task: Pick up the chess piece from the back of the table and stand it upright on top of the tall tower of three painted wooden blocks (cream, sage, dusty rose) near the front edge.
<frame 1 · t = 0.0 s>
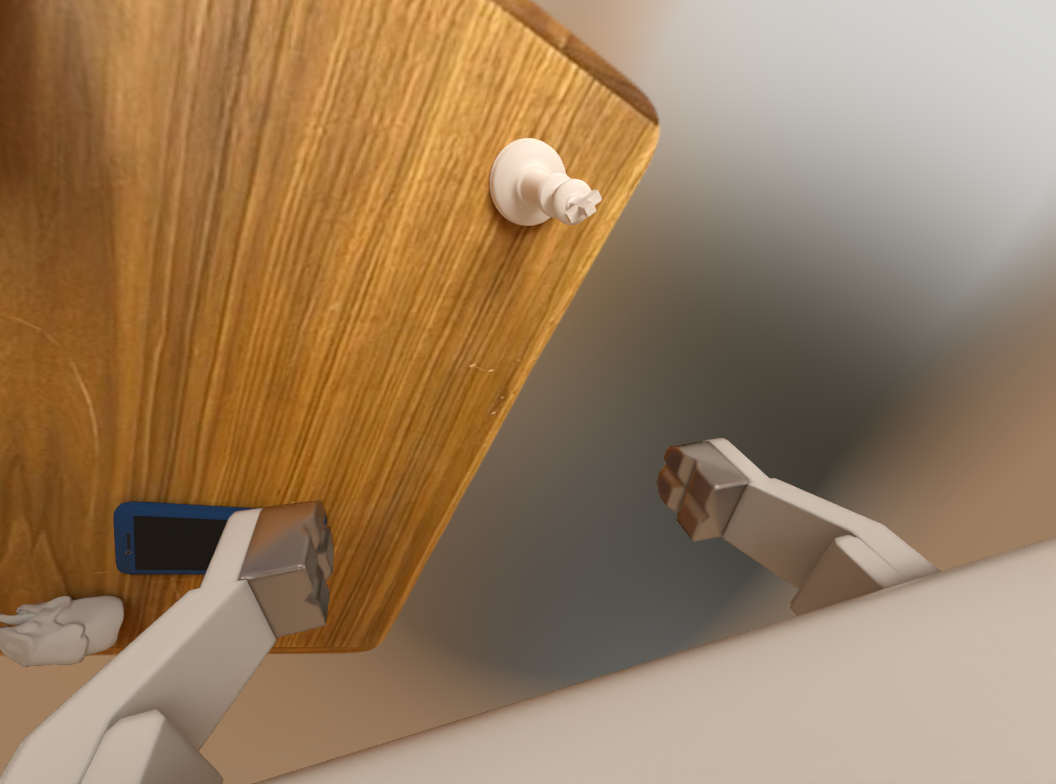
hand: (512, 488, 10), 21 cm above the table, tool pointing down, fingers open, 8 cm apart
cell phone: (230, 536, 34), on the table
figurine: (75, 595, 33), on the table
chess piece: (526, 183, 26), on the table
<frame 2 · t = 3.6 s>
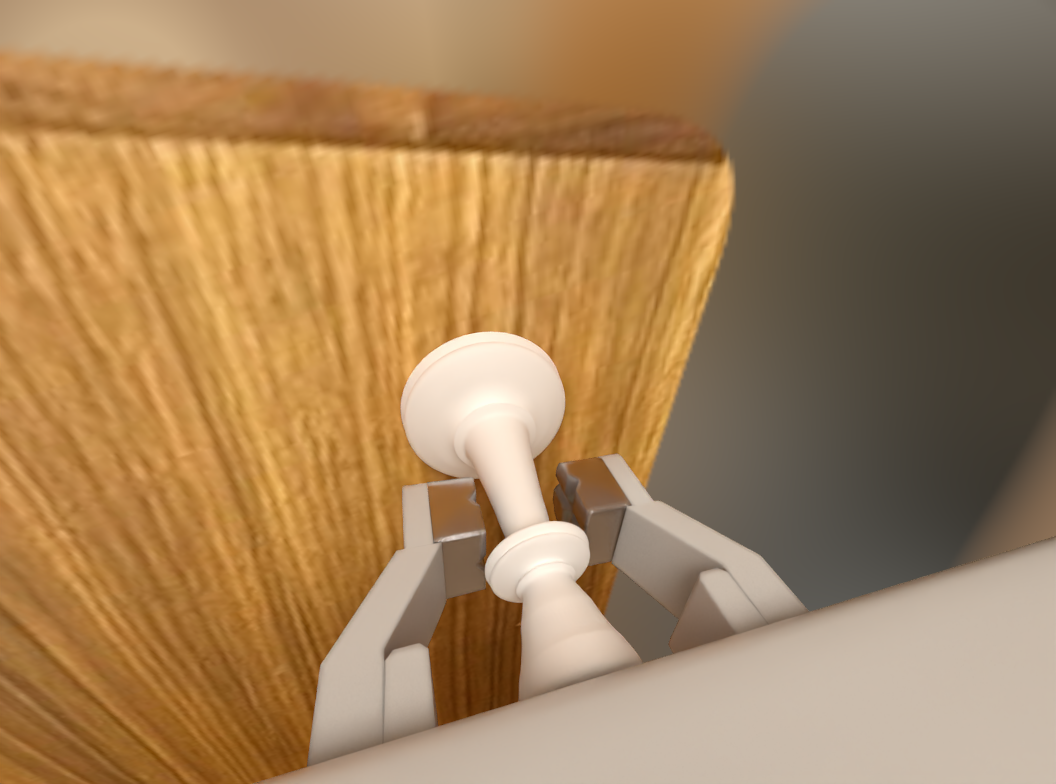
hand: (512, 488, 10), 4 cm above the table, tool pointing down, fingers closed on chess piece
chess piece: (483, 401, 13), on the table, touching gripper
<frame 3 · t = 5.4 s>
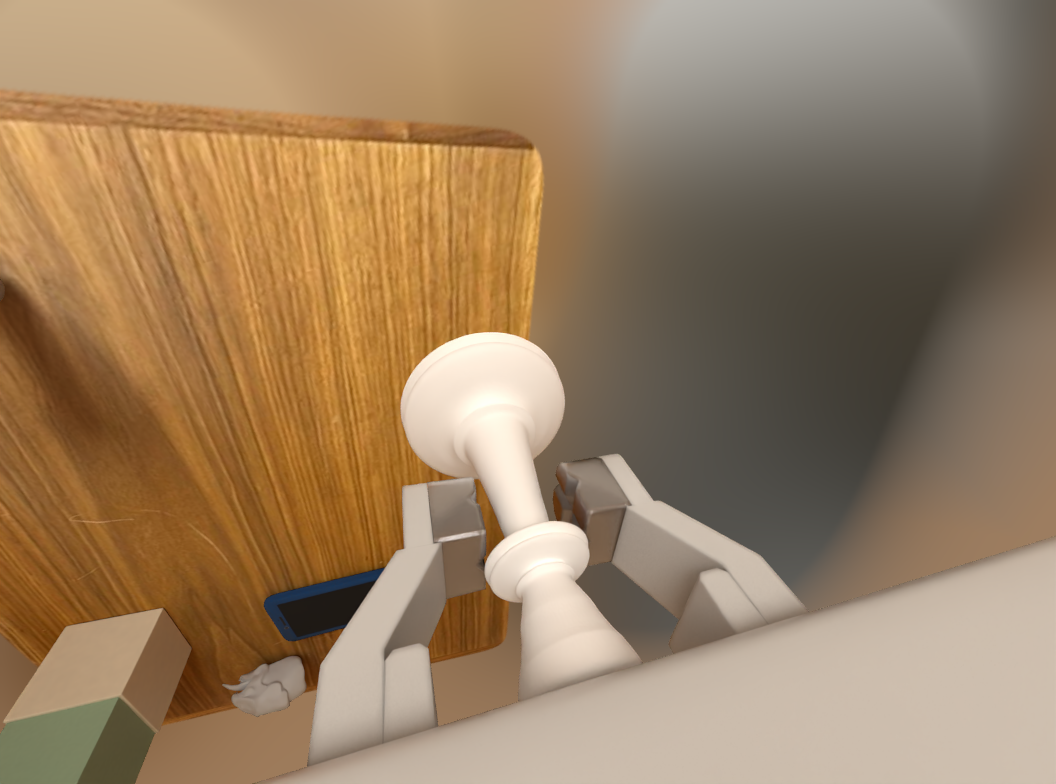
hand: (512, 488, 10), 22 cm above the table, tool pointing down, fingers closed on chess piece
cell phone: (349, 597, 43), on the table
block stack: (133, 637, 37), on the table
figurine: (270, 660, 45), on the table
chess piece: (483, 402, 13), point 18 cm above the table, touching gripper
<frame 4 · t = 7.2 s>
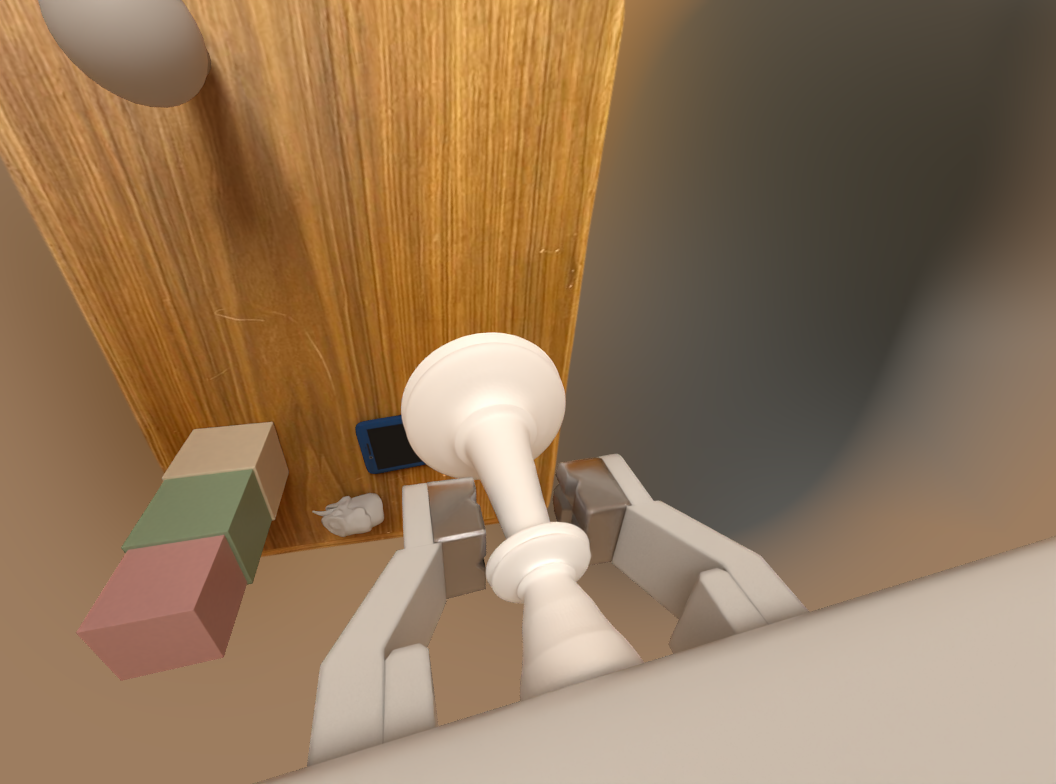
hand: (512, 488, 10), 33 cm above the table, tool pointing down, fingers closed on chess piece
lightbulb: (193, 57, 27), on the table
cell phone: (423, 435, 48), on the table
block stack: (244, 451, 43), on the table
figurine: (350, 498, 50), on the table
chess piece: (483, 402, 13), point 29 cm above the table, touching gripper
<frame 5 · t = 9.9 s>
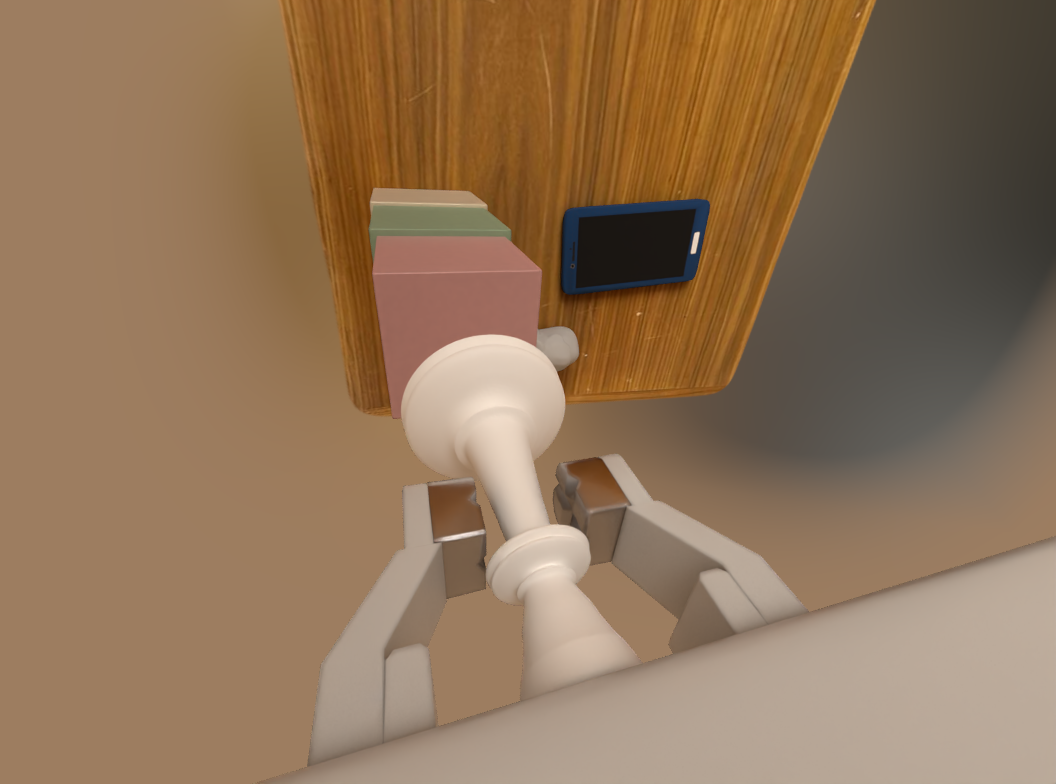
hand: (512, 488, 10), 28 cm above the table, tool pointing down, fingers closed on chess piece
cell phone: (631, 246, 37), on the table
block stack: (426, 238, 32), on the table
figurine: (528, 337, 40), on the table
chess piece: (483, 404, 13), point 24 cm above the table, touching gripper
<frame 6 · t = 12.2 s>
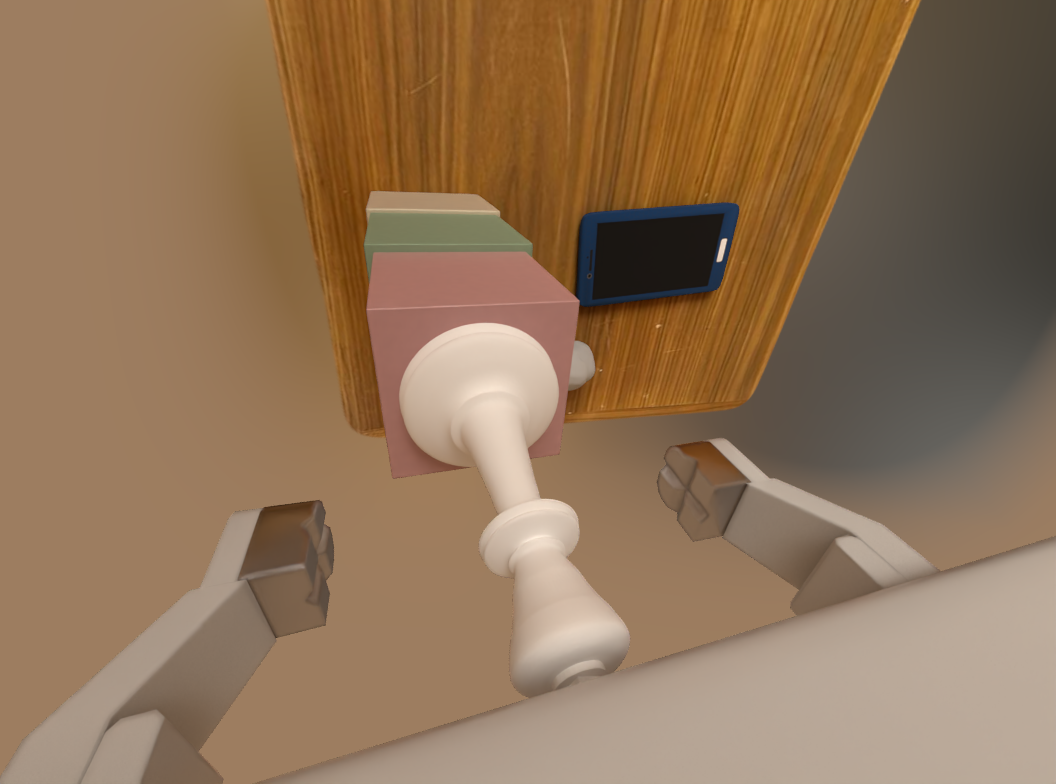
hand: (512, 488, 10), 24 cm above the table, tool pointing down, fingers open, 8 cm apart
cell phone: (653, 253, 34), on the table
block stack: (429, 246, 29), on the table
figurine: (539, 351, 36), on the table
chess piece: (479, 391, 13), point 20 cm above the table, touching block stack
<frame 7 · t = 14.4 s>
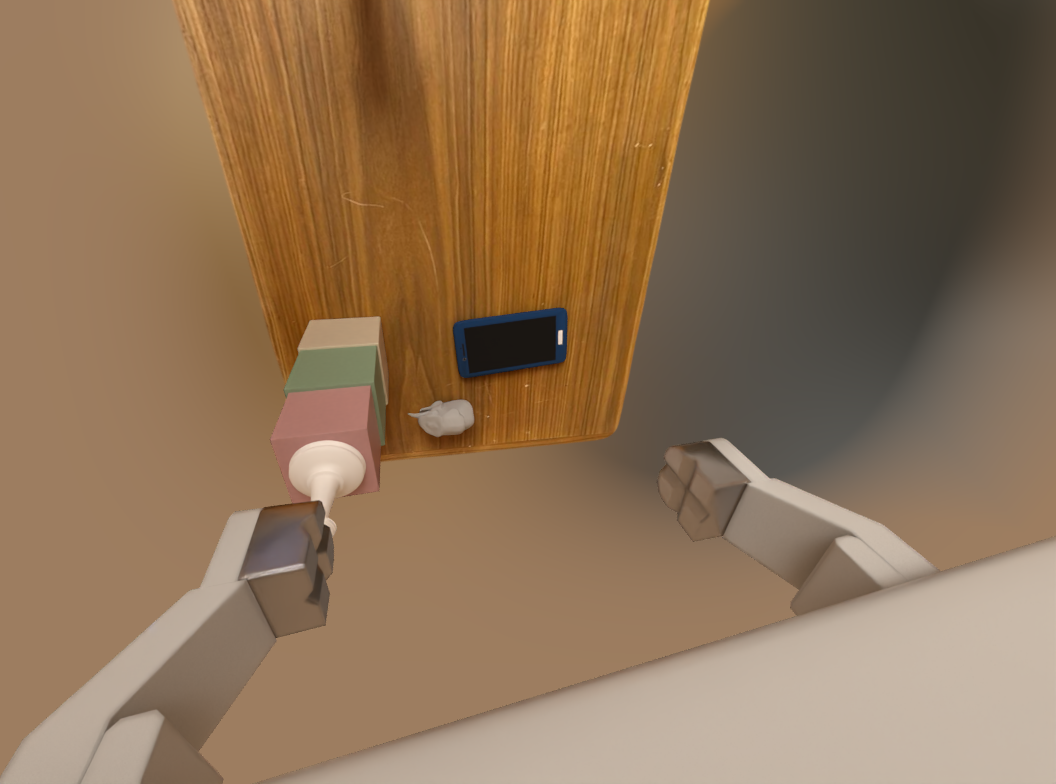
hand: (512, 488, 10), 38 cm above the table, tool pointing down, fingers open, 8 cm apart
cell phone: (511, 341, 50), on the table
block stack: (351, 347, 45), on the table
figurine: (439, 406, 52), on the table
chess piece: (329, 465, 29), point 20 cm above the table, touching block stack
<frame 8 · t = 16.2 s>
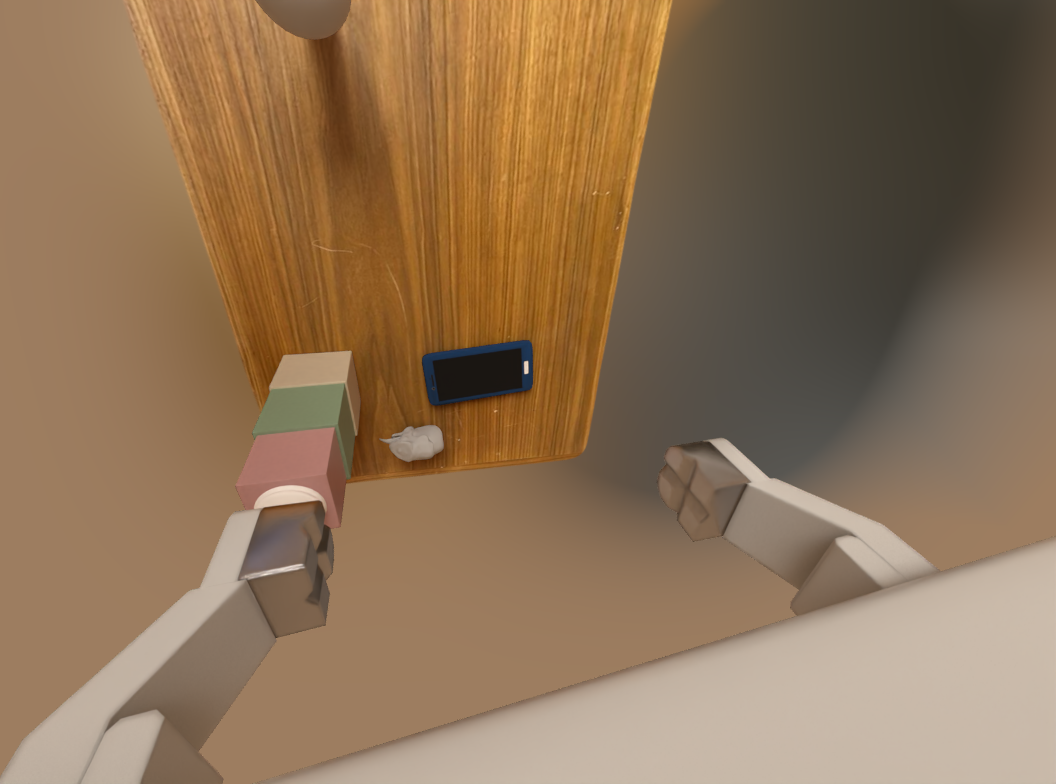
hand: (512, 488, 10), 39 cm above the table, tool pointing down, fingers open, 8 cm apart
lightbulb: (316, 5, 32), on the table
cell phone: (479, 370, 53), on the table
block stack: (324, 379, 48), on the table
figurine: (411, 431, 55), on the table
chess piece: (292, 506, 32), point 20 cm above the table, touching block stack
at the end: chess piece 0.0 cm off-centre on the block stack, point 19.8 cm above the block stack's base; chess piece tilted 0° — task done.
